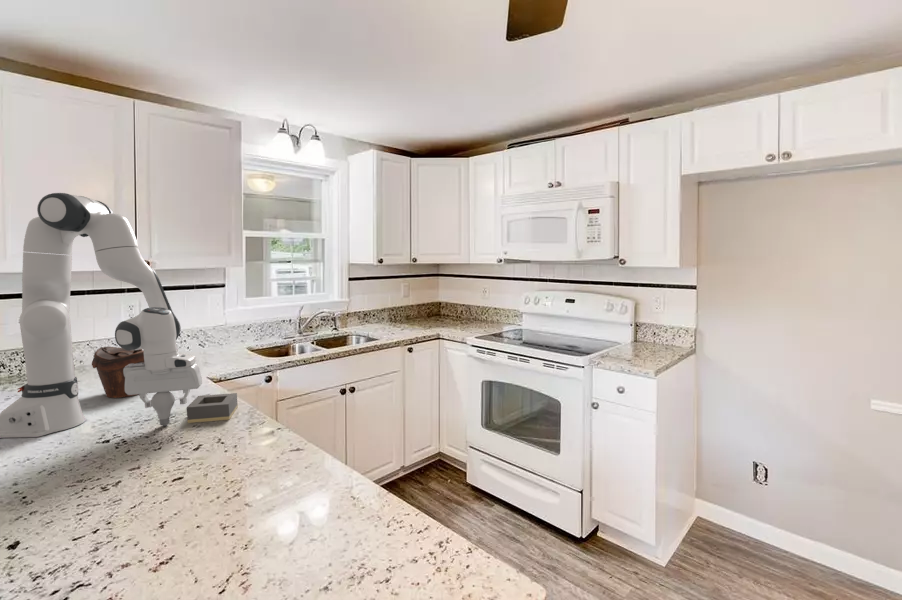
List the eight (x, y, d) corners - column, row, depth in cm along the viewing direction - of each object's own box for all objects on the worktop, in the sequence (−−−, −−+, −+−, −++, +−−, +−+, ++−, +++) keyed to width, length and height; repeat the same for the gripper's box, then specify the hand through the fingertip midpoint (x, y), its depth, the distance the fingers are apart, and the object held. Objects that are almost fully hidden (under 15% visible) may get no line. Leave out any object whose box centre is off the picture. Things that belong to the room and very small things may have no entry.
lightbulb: (165, 430, 137) (162, 394, 136) (148, 429, 138) (145, 393, 137) (181, 423, 143) (178, 388, 142) (164, 421, 144) (161, 387, 143)
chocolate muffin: (160, 393, 173) (156, 346, 171) (93, 404, 162) (88, 354, 160) (158, 383, 188) (154, 340, 186) (96, 392, 177) (92, 346, 175)
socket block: (187, 422, 143) (186, 407, 142) (199, 410, 154) (198, 395, 154) (229, 419, 146) (228, 404, 145) (237, 407, 157) (236, 393, 157)
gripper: (117, 366, 133) (123, 412, 135) (195, 360, 138) (199, 405, 140) (127, 361, 139) (132, 405, 141) (201, 356, 144) (205, 398, 146)
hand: (166, 405), depth 140 cm, fingers open, 8 cm apart
